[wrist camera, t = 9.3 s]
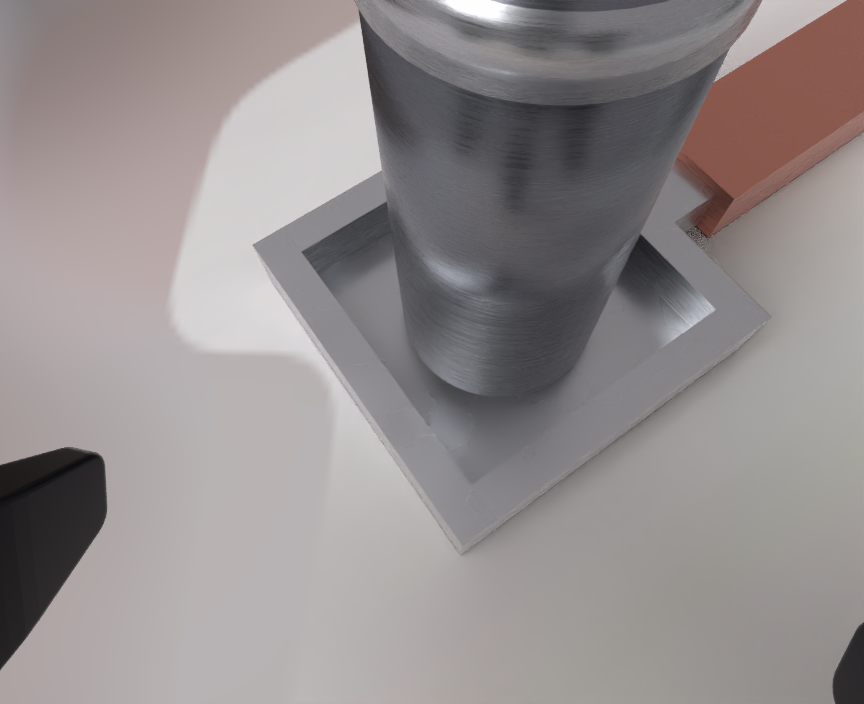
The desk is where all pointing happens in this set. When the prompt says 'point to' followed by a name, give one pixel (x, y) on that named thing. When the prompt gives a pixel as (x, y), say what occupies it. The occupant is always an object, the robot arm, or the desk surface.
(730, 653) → the desk surface
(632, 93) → the dark grey tall cylinder
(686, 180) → the square pan with handle
